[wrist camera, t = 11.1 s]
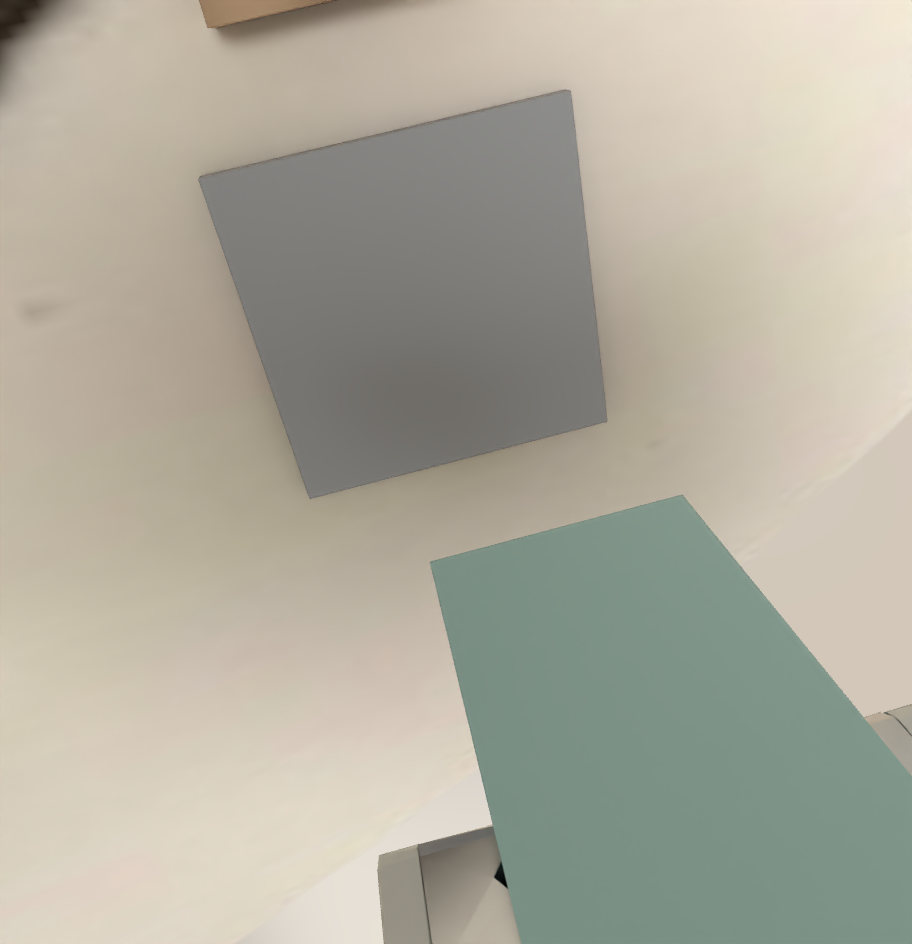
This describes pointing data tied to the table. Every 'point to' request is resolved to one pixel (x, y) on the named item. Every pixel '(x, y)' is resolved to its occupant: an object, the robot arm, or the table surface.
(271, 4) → the pocket
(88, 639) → the table surface
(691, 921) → the teal block
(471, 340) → the mat
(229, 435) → the table surface
